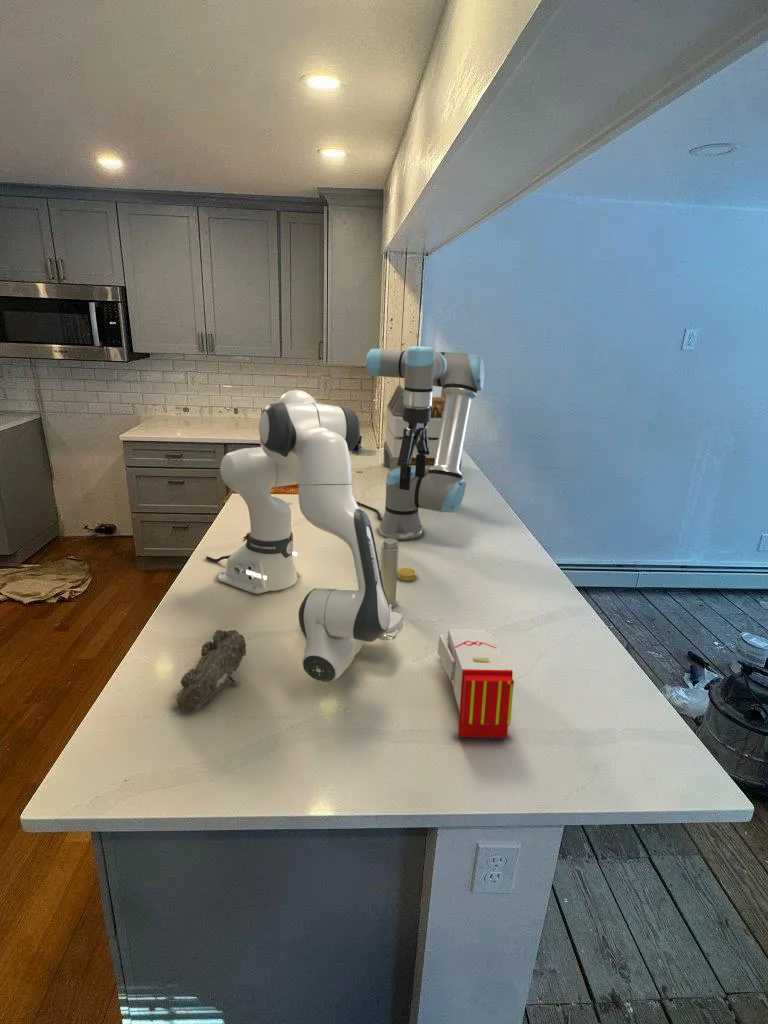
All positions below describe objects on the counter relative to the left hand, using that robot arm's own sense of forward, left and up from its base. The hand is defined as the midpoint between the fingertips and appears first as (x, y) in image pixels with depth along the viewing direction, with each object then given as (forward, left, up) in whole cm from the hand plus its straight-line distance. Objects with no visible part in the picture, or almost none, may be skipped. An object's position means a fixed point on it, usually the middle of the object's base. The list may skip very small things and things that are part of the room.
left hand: (370, 602), depth 138 cm
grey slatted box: (-27, +141, -7) cm, 144 cm away
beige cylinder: (0, +13, -7) cm, 15 cm away
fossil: (-22, -32, -7) cm, 40 cm away
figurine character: (-71, +168, -7) cm, 182 cm away
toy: (+28, -16, -7) cm, 33 cm away
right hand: (0, +31, +22) cm, 38 cm away
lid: (0, +30, -6) cm, 31 cm away
